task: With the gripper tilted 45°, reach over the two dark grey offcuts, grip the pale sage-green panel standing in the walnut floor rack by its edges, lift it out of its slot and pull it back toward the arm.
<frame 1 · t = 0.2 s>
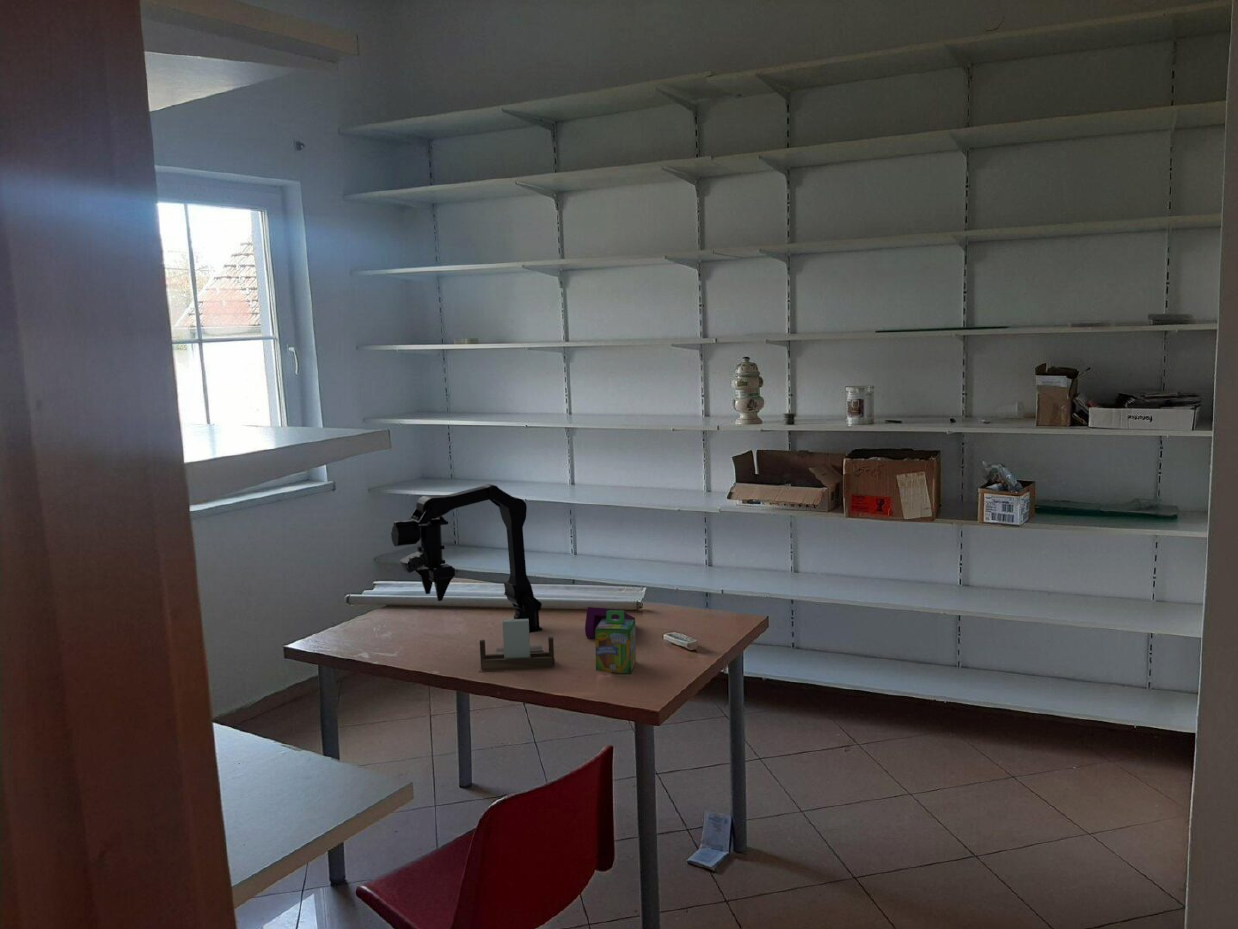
hand: (433, 597, 255), 15 cm above the table, tool pointing down, fingers open, 9 cm apart
mounting bracket: (613, 635, 265), on the table
lower offcut: (520, 660, 246), on the table, touching upper offcut
walnut rack: (517, 668, 238), on the table
upper offcut: (519, 655, 245), point 1 cm above the table, touching lower offcut
sage panel: (517, 665, 238), point 1 cm above the table, touching walnut rack
chalk box: (616, 668, 236), on the table
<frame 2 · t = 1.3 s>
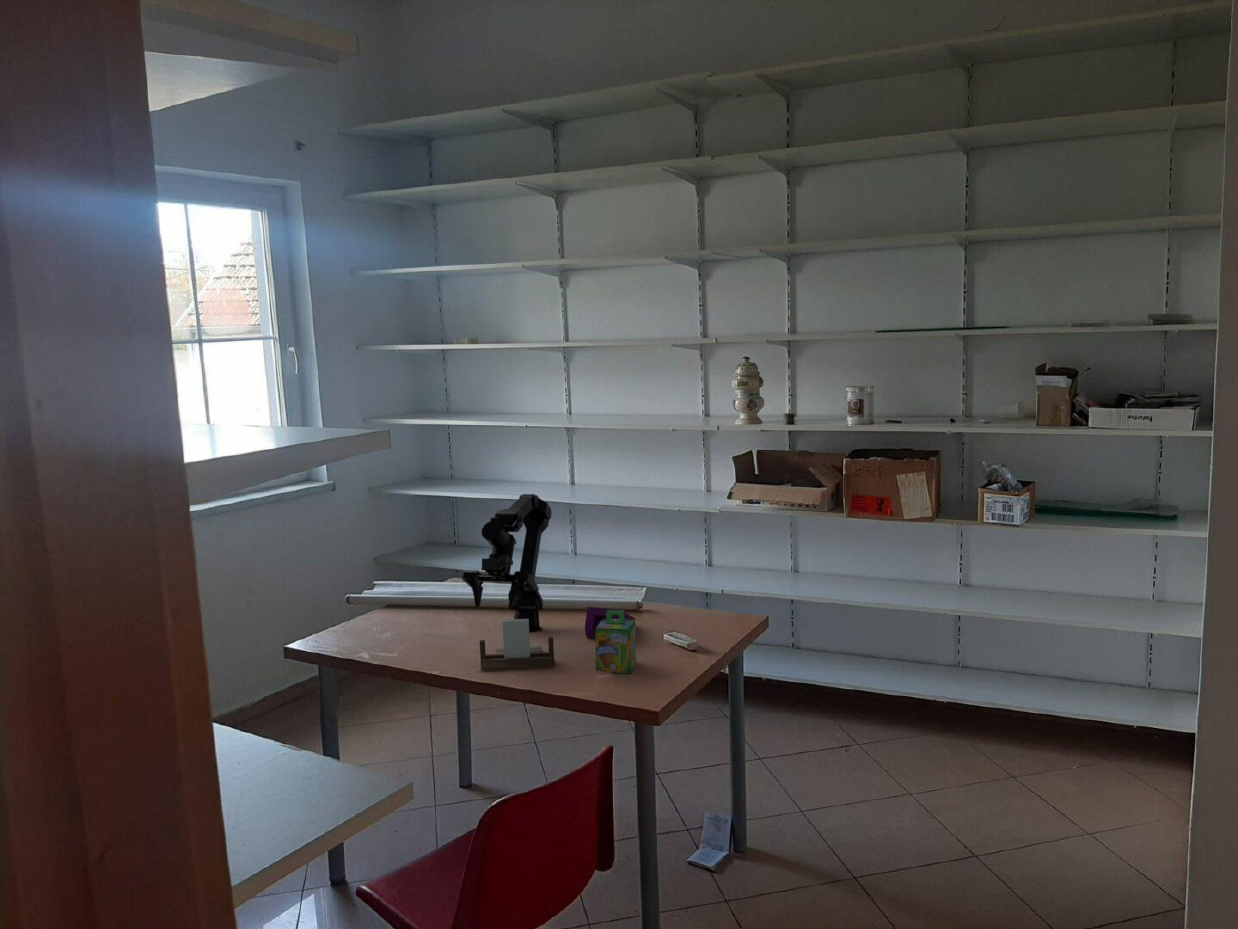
hand: (493, 609, 245), 13 cm above the table, tool tilted 35°, fingers open, 9 cm apart
nothing on the table moved.
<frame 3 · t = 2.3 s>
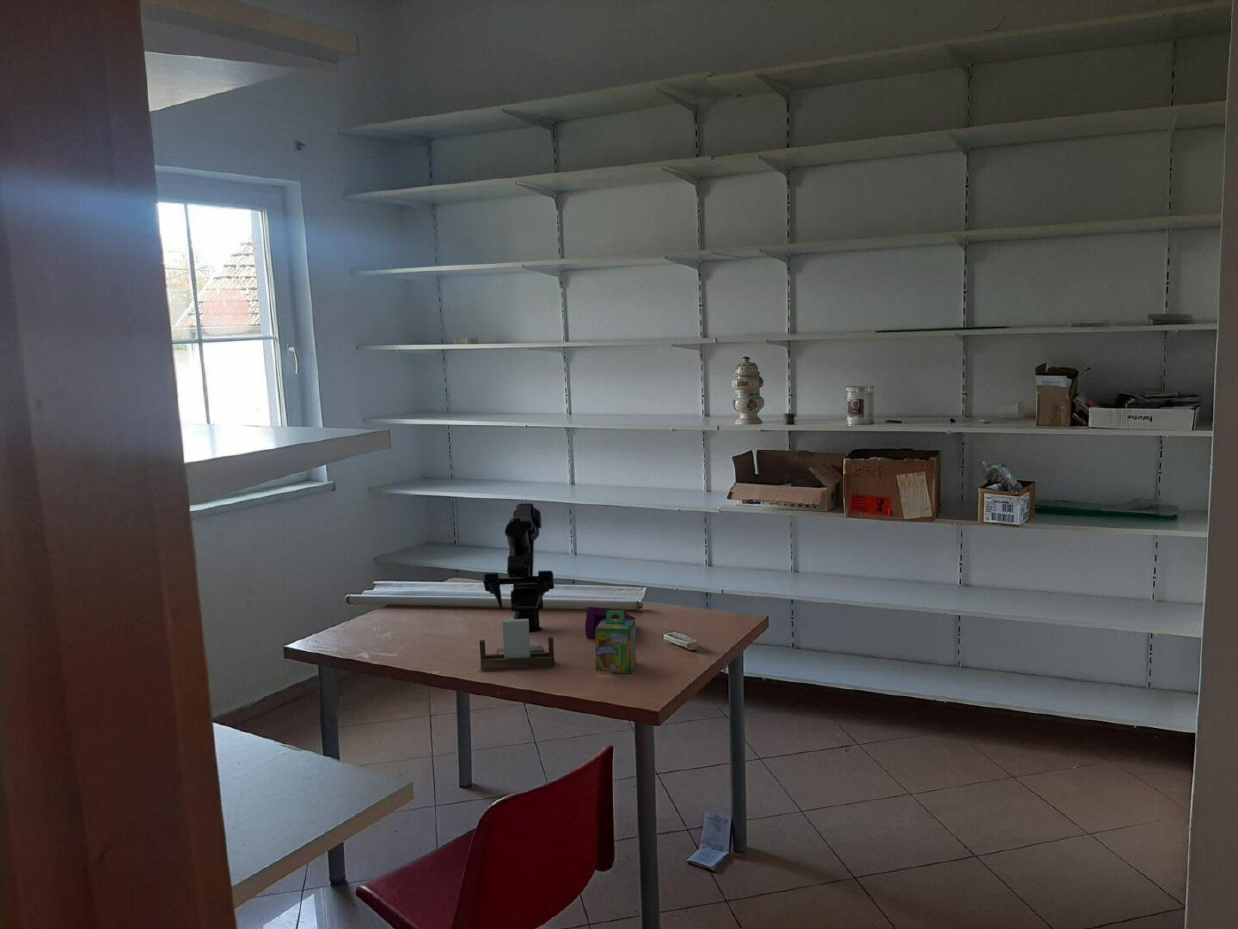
hand: (518, 608, 244), 14 cm above the table, tool tilted 45°, fingers open, 9 cm apart
nothing on the table moved.
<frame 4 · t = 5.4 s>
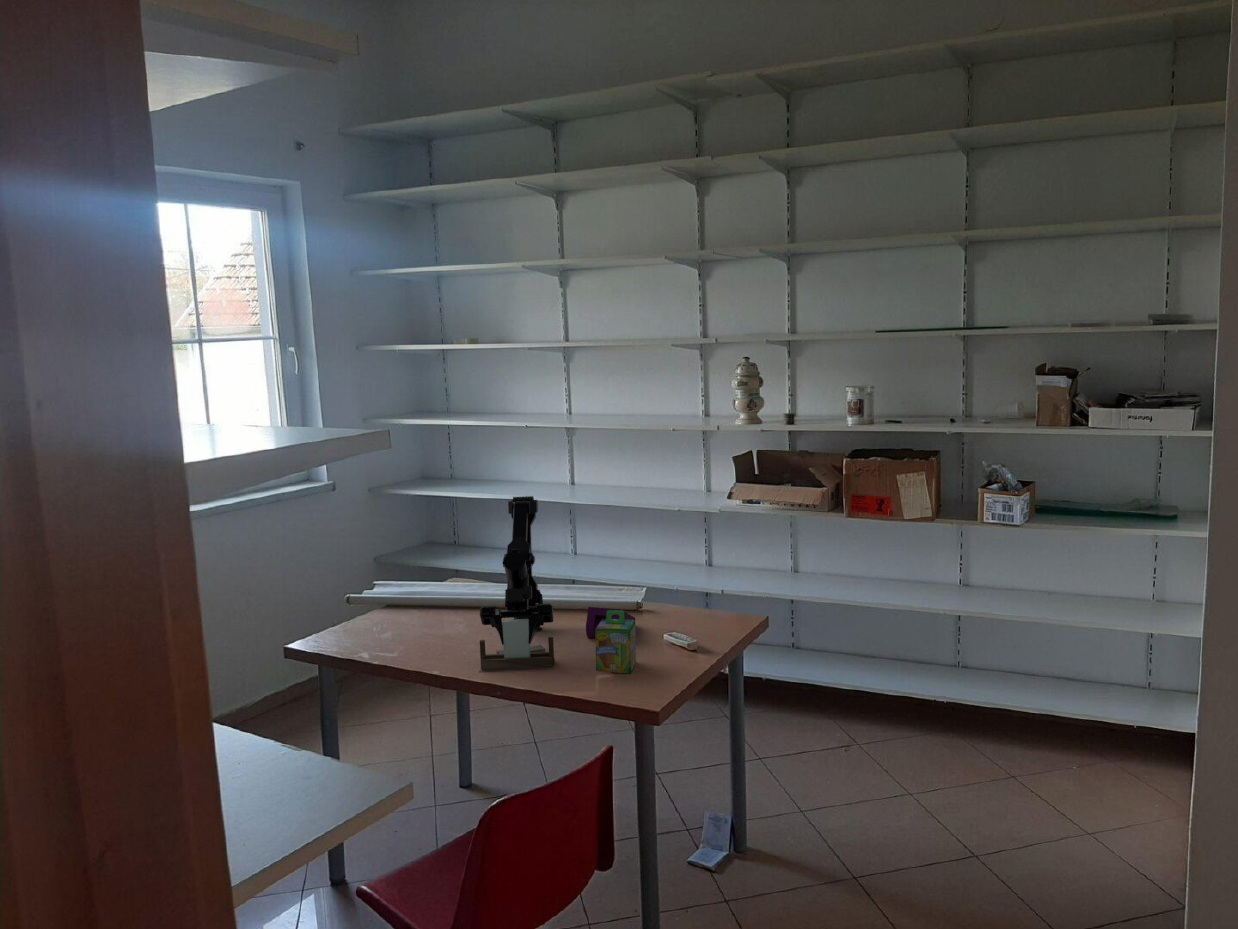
hand: (516, 643, 236), 7 cm above the table, tool tilted 45°, fingers closed on sage panel, 6 cm apart
lower offcut: (520, 660, 246), on the table
upper offcut: (521, 655, 246), point 1 cm above the table
sage panel: (517, 665, 238), point 1 cm above the table, touching gripper, walnut rack
everything else where it was.
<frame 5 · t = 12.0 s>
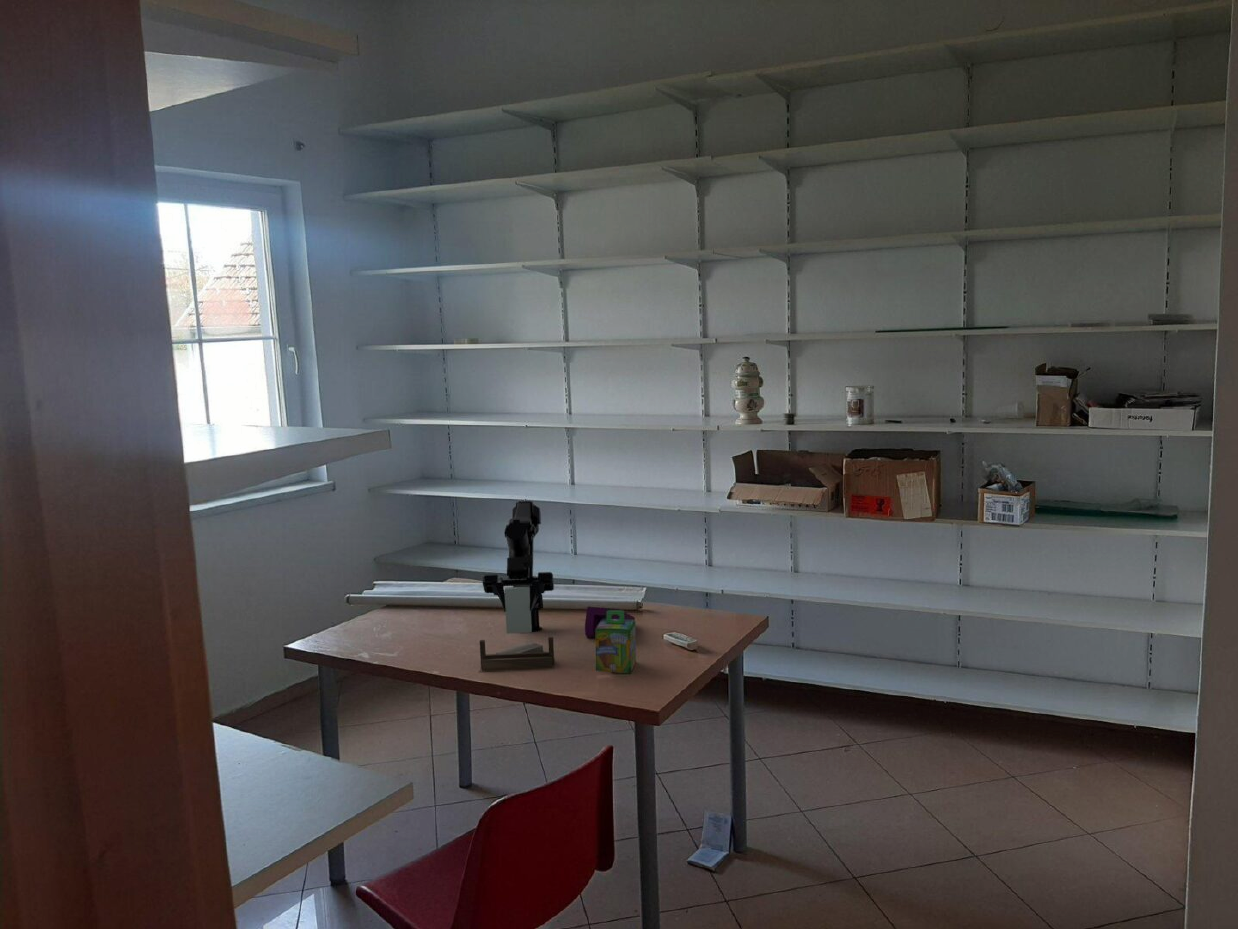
hand: (517, 610, 243), 14 cm above the table, tool tilted 45°, fingers closed on sage panel, 6 cm apart
lower offcut: (520, 660, 246), on the table, touching upper offcut
upper offcut: (519, 654, 246), point 1 cm above the table, touching lower offcut
sage panel: (519, 631, 245), point 7 cm above the table, touching gripper
everything else where it was.
at the end: the gripper is holding sage panel; sage panel inside the target area on the walnut rack (0.1 cm from its centre), point 7.3 cm above the walnut rack's base; sage panel touching gripper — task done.
